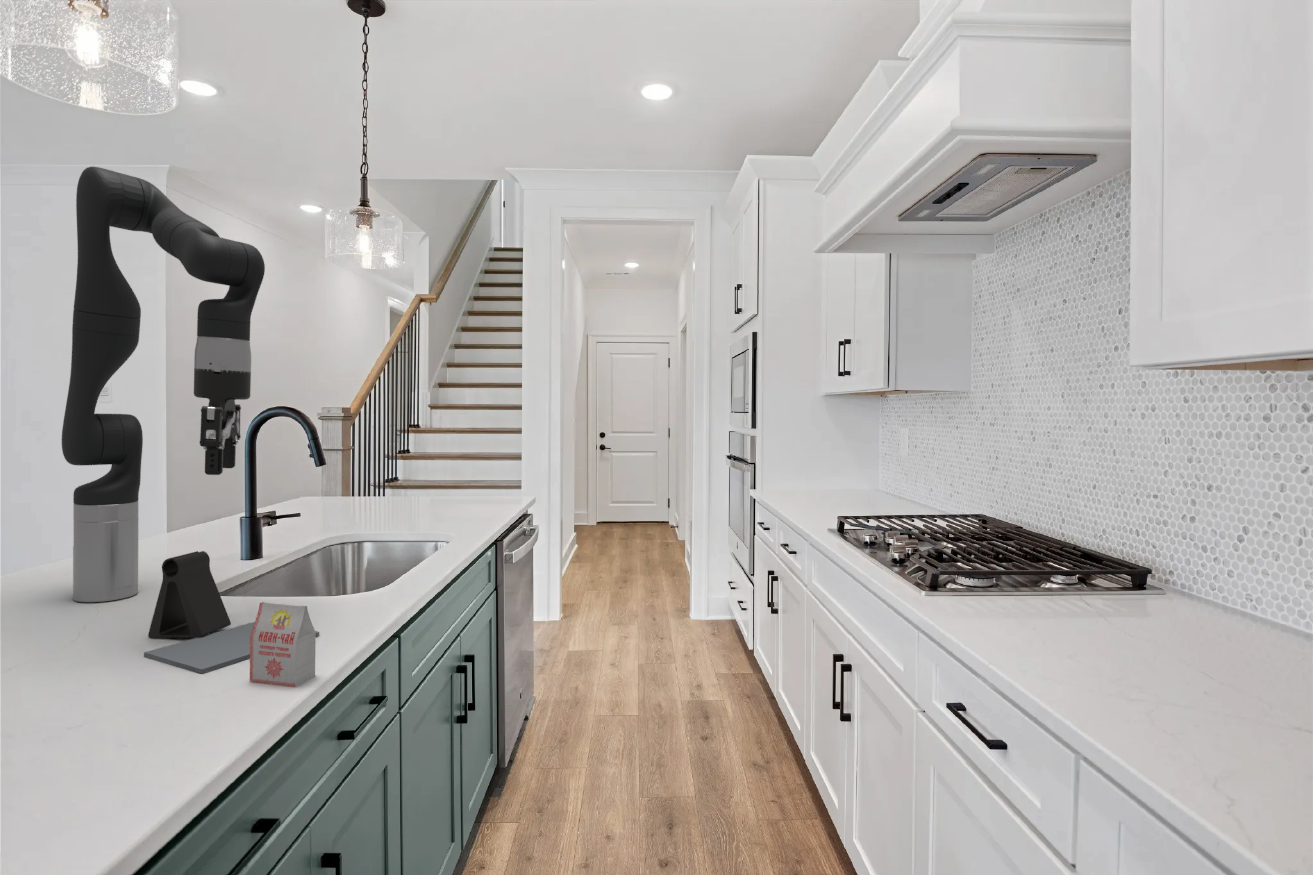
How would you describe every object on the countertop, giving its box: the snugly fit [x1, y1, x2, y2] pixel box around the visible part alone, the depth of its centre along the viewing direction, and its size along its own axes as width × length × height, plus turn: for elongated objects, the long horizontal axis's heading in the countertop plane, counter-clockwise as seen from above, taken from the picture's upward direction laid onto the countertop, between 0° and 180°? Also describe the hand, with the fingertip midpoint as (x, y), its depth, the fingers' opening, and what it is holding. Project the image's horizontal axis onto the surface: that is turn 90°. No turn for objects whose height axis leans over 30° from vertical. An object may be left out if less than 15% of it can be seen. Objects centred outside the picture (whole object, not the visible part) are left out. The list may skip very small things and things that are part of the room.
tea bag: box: [249, 601, 317, 688], centre depth 90 cm, size 4×7×10 cm, turn 79°
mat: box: [143, 621, 320, 675], centre depth 102 cm, size 13×18×1 cm
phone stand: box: [147, 550, 232, 639], centre depth 107 cm, size 9×6×12 cm, turn 83°
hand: (220, 471), depth 108 cm, fingers open, 8 cm apart
